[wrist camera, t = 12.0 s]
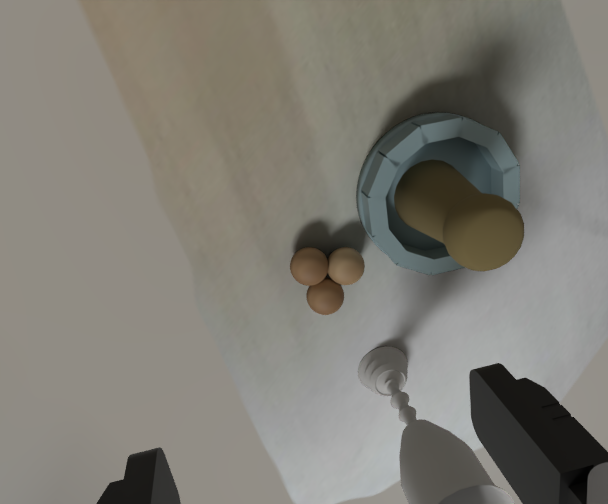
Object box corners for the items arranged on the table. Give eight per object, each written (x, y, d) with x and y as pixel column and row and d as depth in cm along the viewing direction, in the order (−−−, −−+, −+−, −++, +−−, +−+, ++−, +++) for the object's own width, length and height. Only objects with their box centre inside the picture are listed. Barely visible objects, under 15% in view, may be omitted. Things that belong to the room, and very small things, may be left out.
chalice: (351, 338, 48) (425, 491, 32) (419, 333, 49) (525, 478, 33) (347, 402, 51) (413, 573, 35) (412, 396, 52) (506, 559, 36)
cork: (455, 148, 42) (534, 181, 32) (468, 215, 44) (545, 265, 34) (386, 174, 41) (442, 215, 31) (403, 239, 44) (460, 297, 34)
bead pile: (278, 255, 44) (283, 270, 41) (339, 219, 44) (349, 231, 41) (314, 310, 46) (321, 328, 43) (372, 276, 46) (383, 292, 43)
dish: (346, 129, 41) (357, 135, 38) (500, 98, 42) (522, 102, 39) (365, 274, 46) (376, 290, 43) (502, 243, 47) (521, 256, 44)
